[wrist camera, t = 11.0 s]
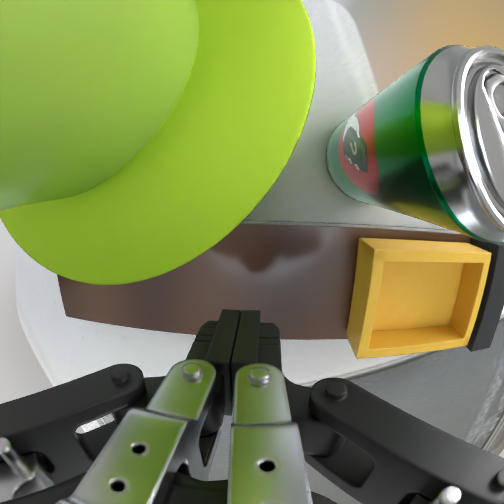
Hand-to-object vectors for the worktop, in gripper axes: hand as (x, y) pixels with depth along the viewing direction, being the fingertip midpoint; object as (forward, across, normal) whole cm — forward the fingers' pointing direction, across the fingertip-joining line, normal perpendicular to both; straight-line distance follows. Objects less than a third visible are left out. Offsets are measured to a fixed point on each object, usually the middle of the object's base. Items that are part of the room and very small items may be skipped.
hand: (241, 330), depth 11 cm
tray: (+5, -10, 0) cm, 11 cm away
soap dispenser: (+6, +1, -8) cm, 10 cm away
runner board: (+6, -1, 0) cm, 6 cm away
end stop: (+5, -15, 0) cm, 16 cm away
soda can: (+6, -7, -7) cm, 12 cm away
